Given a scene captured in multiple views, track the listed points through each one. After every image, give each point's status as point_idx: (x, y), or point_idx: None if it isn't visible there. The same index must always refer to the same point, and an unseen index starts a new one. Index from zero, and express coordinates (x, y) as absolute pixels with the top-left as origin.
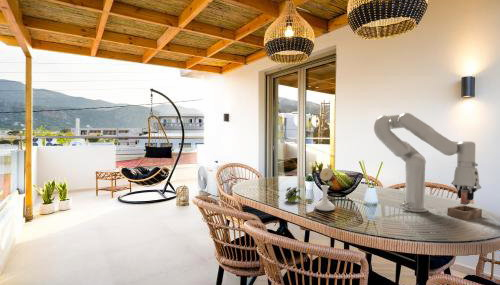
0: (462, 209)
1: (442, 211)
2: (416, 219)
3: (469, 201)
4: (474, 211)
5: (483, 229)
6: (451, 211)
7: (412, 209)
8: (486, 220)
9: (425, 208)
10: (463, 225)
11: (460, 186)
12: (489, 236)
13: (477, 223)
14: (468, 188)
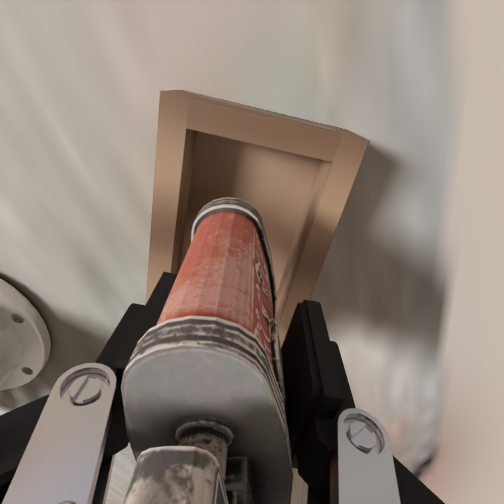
0: (190, 158)
1: (83, 225)
2: (132, 457)
3: (268, 257)
4: (321, 258)
5: (391, 397)
6: None
7: (5, 386)
8: (390, 217)
9: (8, 310)
10: None
11: (45, 477)
12: (419, 453)
13: (352, 329)
14: (214, 370)
